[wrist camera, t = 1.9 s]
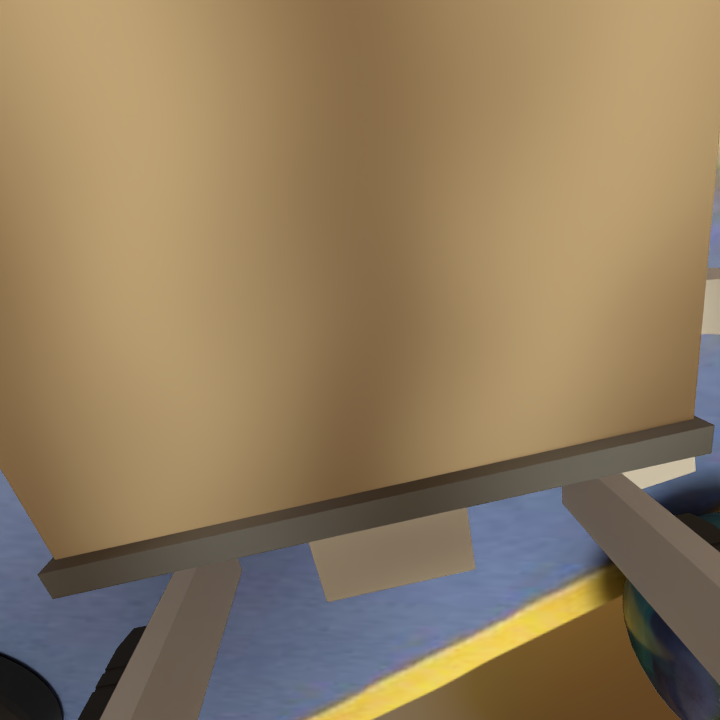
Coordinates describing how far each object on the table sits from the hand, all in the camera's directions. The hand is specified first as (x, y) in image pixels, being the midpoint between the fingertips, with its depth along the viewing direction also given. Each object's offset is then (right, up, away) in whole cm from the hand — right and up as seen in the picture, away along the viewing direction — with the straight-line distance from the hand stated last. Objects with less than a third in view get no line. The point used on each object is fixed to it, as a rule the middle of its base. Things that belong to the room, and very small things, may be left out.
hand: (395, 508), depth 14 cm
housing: (-3, +12, +6) cm, 14 cm away
